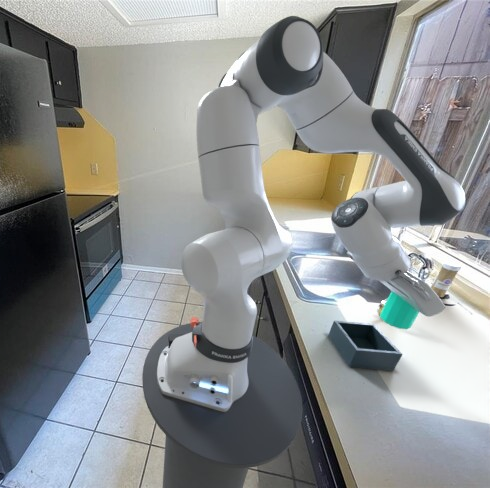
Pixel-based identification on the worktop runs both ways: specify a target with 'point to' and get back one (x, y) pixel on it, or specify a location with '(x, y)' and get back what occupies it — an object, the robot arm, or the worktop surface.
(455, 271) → the sprinkles bottle
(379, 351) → the bin
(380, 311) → the ring
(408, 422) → the worktop surface
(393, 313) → the candle
